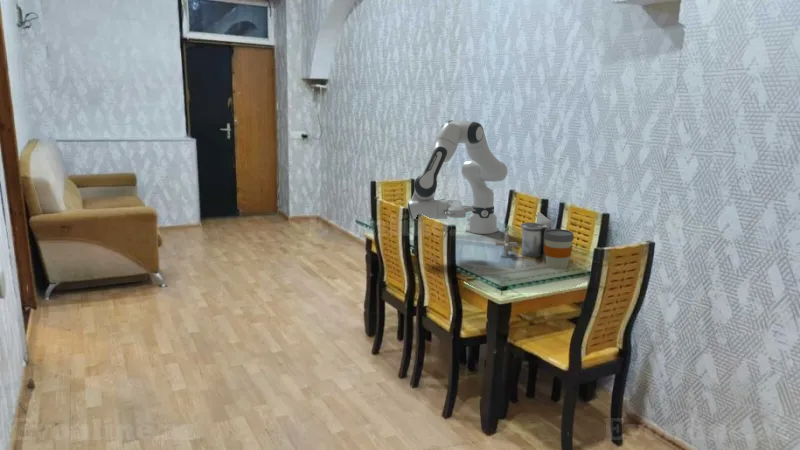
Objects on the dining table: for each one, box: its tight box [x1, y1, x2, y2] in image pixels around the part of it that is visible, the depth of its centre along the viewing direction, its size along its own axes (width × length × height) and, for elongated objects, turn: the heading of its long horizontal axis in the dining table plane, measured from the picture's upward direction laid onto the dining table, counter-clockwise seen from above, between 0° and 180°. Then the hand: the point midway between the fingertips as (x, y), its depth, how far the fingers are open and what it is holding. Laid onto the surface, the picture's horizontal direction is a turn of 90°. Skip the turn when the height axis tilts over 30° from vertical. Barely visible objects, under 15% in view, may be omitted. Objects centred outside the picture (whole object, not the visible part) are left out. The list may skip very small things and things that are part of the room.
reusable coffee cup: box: [544, 228, 575, 270], centre depth 242 cm, size 12×13×15 cm
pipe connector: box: [495, 232, 518, 256], centre depth 260 cm, size 10×10×10 cm
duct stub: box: [520, 211, 552, 260], centre depth 260 cm, size 20×11×18 cm, turn 1°
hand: (473, 208), depth 257 cm, fingers closed
